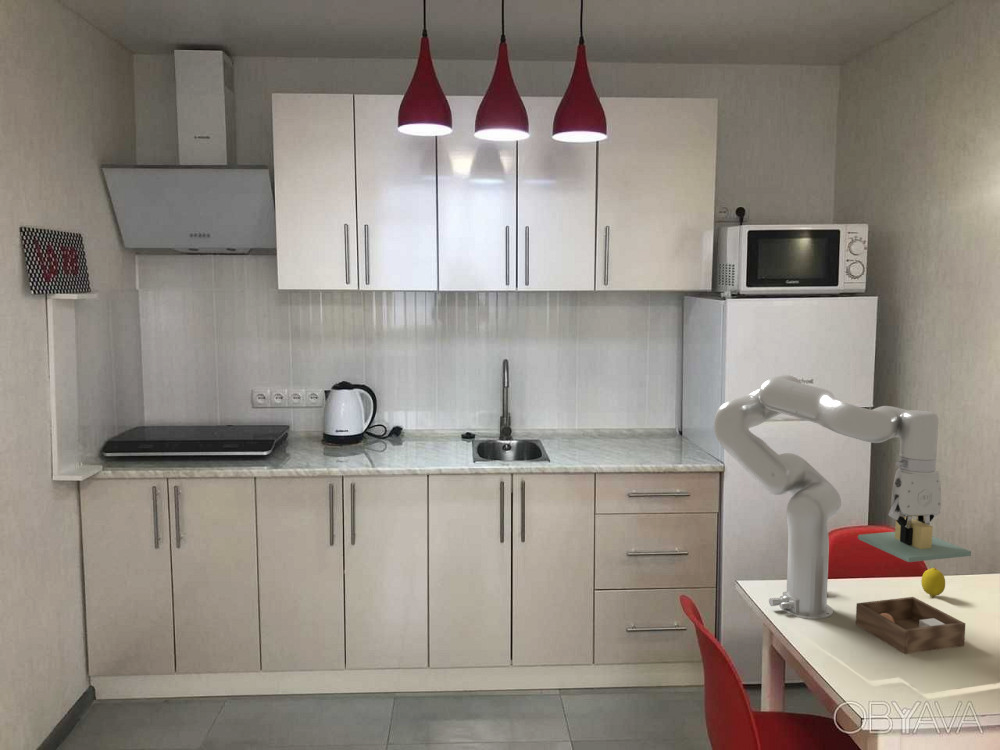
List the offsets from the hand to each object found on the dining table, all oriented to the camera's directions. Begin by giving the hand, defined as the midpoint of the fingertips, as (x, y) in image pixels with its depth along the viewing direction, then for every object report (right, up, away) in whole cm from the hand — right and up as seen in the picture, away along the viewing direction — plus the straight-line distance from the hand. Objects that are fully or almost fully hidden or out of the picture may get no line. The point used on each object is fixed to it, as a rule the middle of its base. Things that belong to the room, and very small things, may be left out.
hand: (912, 541), depth 182 cm
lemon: (+19, -20, +26) cm, 38 cm away
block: (+4, -22, 0) cm, 23 cm away
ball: (-4, -22, +5) cm, 23 cm away
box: (0, -23, +2) cm, 23 cm away
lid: (0, -1, 0) cm, 1 cm away
